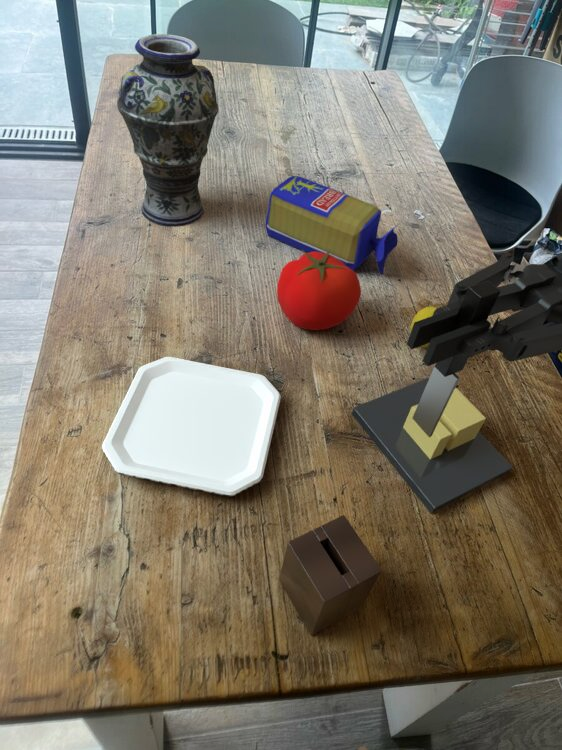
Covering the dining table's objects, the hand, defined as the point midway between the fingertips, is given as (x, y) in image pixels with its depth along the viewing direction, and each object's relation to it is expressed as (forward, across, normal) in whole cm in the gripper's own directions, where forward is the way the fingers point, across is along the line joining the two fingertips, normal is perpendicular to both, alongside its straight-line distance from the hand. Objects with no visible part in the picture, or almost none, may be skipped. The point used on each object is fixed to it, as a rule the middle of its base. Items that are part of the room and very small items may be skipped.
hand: (421, 344), depth 51 cm
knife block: (+9, -7, -29) cm, 31 cm away
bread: (-28, +49, -30) cm, 64 cm away
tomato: (-15, +33, -30) cm, 47 cm away
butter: (-19, +4, -28) cm, 34 cm away
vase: (-6, +72, -30) cm, 78 cm away
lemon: (-28, +20, -30) cm, 45 cm away
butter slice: (-14, +4, -28) cm, 31 cm away
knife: (-6, 0, -15) cm, 16 cm away
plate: (+12, +20, -30) cm, 38 cm away
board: (-16, +4, -29) cm, 33 cm away
